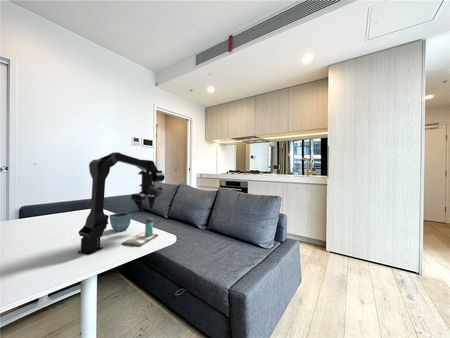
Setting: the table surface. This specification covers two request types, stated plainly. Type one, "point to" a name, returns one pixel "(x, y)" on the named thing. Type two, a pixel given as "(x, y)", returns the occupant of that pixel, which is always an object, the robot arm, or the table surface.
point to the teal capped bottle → (149, 227)
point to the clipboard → (139, 240)
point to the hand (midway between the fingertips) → (146, 210)
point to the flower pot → (120, 221)
